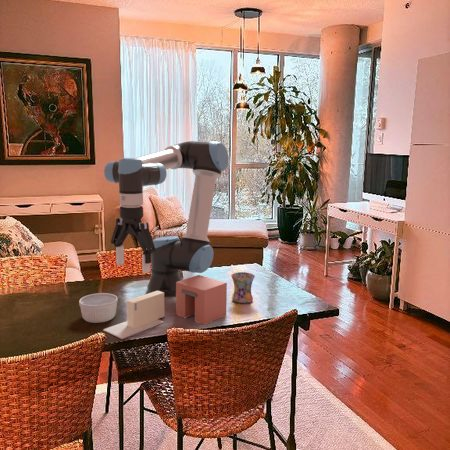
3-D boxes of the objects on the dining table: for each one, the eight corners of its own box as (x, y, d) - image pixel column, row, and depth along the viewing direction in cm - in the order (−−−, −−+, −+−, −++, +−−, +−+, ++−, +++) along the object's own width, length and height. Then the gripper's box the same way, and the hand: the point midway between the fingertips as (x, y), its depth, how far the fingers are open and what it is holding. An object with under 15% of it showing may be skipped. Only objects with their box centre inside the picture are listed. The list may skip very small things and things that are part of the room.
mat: (103, 330, 150) (103, 329, 150) (144, 315, 164) (144, 314, 164) (121, 339, 144) (121, 337, 144) (163, 322, 158) (163, 321, 158)
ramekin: (82, 327, 153) (81, 307, 152) (77, 313, 165) (77, 295, 164) (121, 321, 159) (120, 302, 157) (114, 308, 170) (113, 291, 169)
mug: (256, 304, 177) (257, 278, 175) (233, 305, 175) (234, 279, 173) (249, 294, 189) (249, 269, 187) (227, 295, 187) (227, 270, 185)
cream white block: (127, 325, 154) (126, 300, 152) (157, 314, 164) (157, 290, 163) (133, 328, 152) (133, 302, 150) (164, 316, 162) (164, 292, 161)
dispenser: (174, 315, 164) (174, 282, 162) (198, 306, 174) (198, 274, 172) (202, 325, 156) (202, 291, 153) (226, 315, 165) (226, 282, 163)
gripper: (98, 203, 151) (101, 264, 155) (147, 211, 136) (149, 278, 140) (117, 201, 157) (119, 259, 161) (166, 208, 141) (166, 273, 145)
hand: (133, 268), depth 150 cm, fingers open, 13 cm apart
